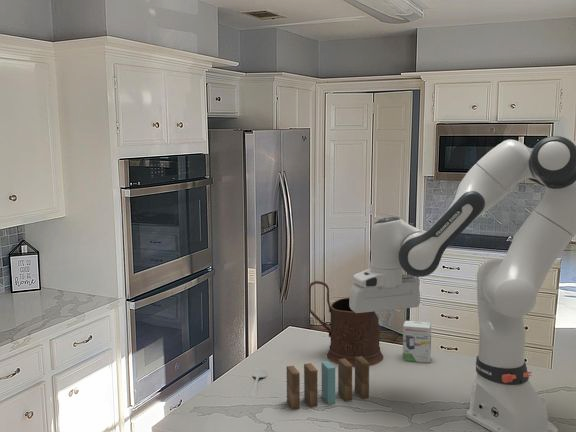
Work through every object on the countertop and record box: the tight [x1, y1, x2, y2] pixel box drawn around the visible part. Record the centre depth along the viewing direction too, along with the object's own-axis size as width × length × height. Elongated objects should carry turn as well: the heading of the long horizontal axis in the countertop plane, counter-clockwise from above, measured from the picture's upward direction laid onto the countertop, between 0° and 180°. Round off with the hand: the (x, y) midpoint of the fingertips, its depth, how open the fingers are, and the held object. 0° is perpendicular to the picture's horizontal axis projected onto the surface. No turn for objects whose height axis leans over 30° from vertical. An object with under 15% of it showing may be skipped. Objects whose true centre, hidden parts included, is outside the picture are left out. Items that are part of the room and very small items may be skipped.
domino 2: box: [303, 362, 319, 408], centre depth 156 cm, size 2×5×10 cm, turn 17°
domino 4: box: [337, 358, 353, 402], centre depth 159 cm, size 2×5×10 cm, turn 17°
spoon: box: [248, 367, 267, 398], centre depth 167 cm, size 4×21×2 cm, turn 173°
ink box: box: [402, 320, 432, 364], centre depth 184 cm, size 9×5×12 cm, turn 73°
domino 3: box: [320, 360, 336, 405], centre depth 157 cm, size 2×5×10 cm, turn 18°
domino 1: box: [286, 365, 301, 410], centre depth 154 cm, size 2×5×10 cm, turn 18°
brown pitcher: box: [308, 280, 384, 368], centre depth 187 cm, size 18×24×25 cm
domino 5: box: [354, 356, 370, 400], centre depth 160 cm, size 2×5×10 cm, turn 18°
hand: (384, 324), depth 160 cm, fingers closed
